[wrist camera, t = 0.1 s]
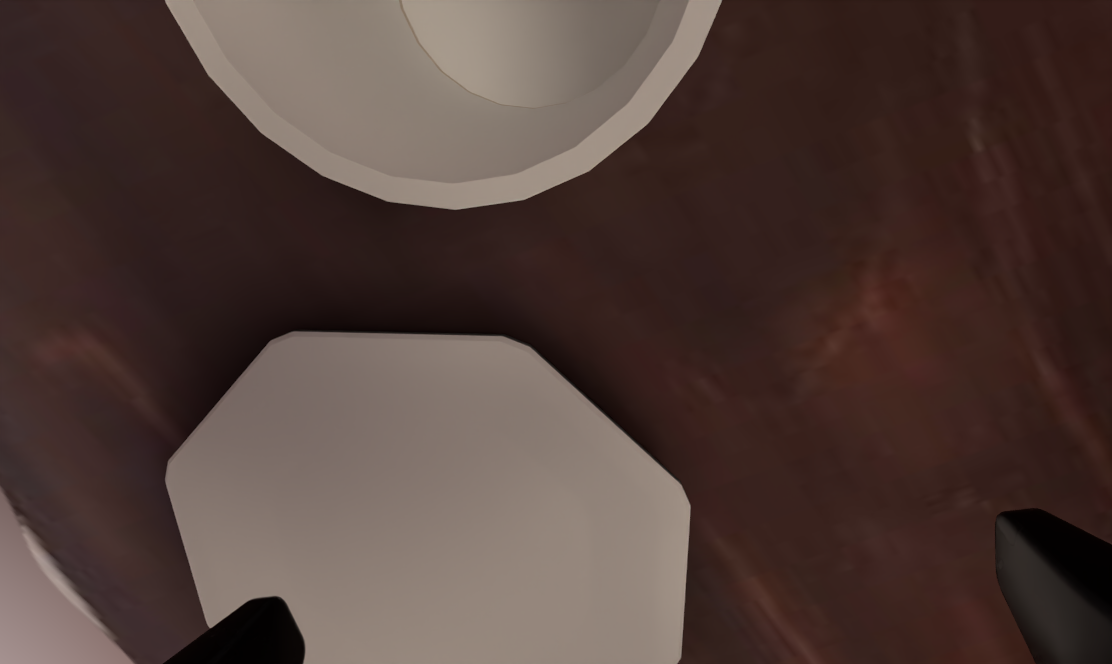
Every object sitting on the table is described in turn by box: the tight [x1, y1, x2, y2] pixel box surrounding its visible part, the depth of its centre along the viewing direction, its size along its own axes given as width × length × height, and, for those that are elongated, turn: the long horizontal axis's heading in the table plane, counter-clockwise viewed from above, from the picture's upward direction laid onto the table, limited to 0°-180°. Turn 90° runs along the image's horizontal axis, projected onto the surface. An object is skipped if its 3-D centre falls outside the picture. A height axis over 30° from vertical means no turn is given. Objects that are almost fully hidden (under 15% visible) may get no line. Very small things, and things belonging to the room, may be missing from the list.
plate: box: [165, 329, 691, 664], centre depth 27 cm, size 20×20×2 cm
